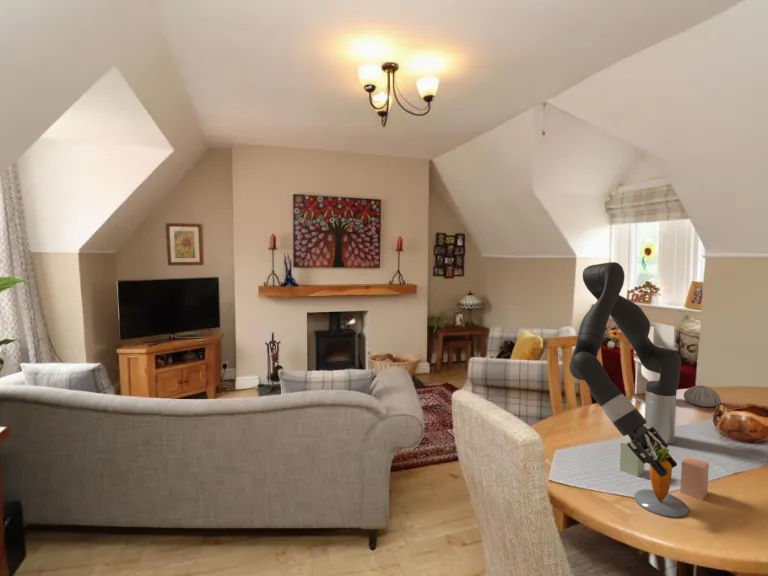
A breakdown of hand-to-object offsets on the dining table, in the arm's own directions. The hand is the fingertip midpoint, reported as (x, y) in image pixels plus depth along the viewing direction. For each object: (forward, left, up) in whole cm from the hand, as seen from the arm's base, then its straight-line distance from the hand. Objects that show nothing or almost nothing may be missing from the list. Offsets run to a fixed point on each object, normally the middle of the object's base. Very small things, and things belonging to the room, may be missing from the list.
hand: (669, 470), depth 112 cm
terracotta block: (-13, +2, -10) cm, 17 cm away
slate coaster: (0, -2, -10) cm, 10 cm away
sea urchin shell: (-100, -18, -10) cm, 102 cm away
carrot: (0, -2, -10) cm, 10 cm away
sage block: (-13, -14, -10) cm, 21 cm away
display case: (-86, -33, -10) cm, 93 cm away
